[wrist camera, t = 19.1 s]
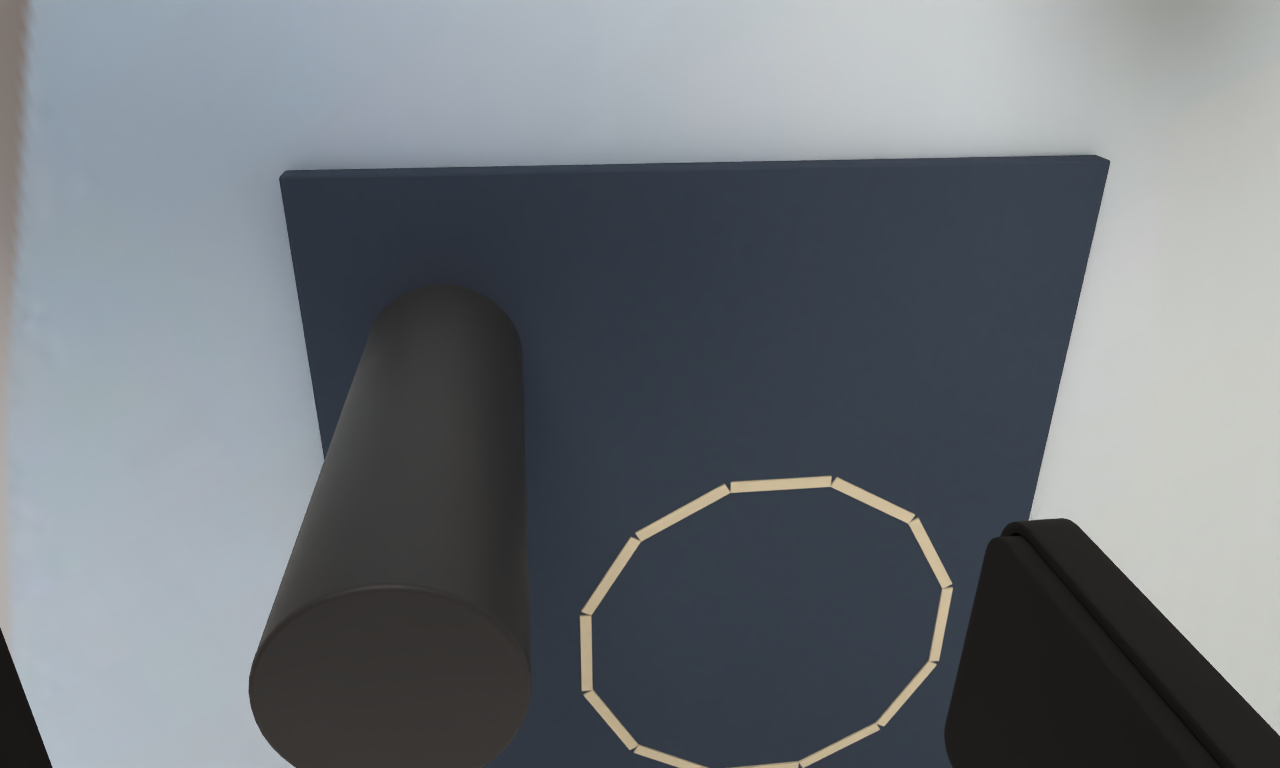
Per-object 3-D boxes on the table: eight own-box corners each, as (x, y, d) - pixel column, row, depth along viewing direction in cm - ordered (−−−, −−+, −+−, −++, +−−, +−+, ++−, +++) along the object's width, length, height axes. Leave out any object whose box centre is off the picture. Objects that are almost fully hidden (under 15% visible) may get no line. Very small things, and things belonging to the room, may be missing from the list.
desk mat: (284, 169, 19) (277, 177, 19) (1097, 154, 21) (1113, 160, 21) (396, 879, 29) (394, 899, 28) (949, 820, 31) (958, 837, 30)
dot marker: (366, 266, 20) (222, 597, 10) (518, 262, 20) (525, 576, 10) (383, 401, 21) (272, 808, 11) (525, 394, 21) (537, 783, 12)
